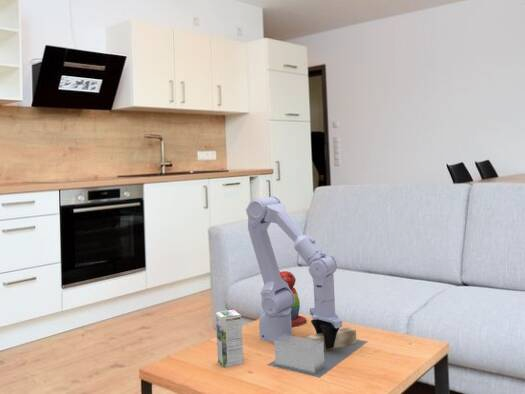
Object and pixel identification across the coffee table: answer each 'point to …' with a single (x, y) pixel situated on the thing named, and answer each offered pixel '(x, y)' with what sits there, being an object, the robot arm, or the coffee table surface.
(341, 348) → the board
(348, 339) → the slat
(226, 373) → the coffee table surface
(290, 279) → the stacking bear
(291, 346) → the grey rectangular block
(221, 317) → the syrup box
